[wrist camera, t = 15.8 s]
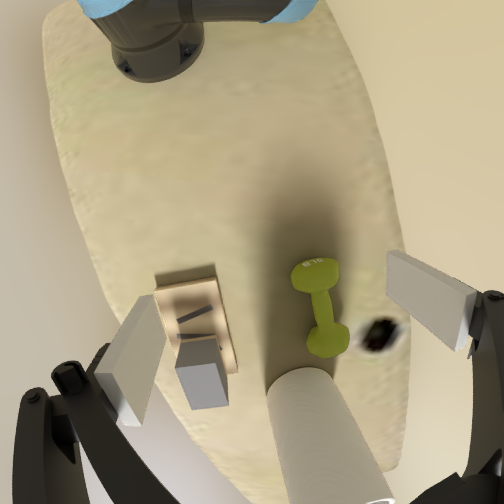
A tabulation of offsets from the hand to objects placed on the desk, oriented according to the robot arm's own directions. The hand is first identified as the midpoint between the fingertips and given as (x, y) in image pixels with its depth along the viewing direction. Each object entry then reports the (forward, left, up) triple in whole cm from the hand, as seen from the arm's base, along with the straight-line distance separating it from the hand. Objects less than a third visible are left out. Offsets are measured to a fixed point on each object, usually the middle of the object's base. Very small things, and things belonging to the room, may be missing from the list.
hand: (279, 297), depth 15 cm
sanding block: (+21, -11, -27) cm, 36 cm away
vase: (+36, +5, -30) cm, 47 cm away
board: (+17, -11, -29) cm, 35 cm away
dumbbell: (+15, +10, -30) cm, 35 cm away
